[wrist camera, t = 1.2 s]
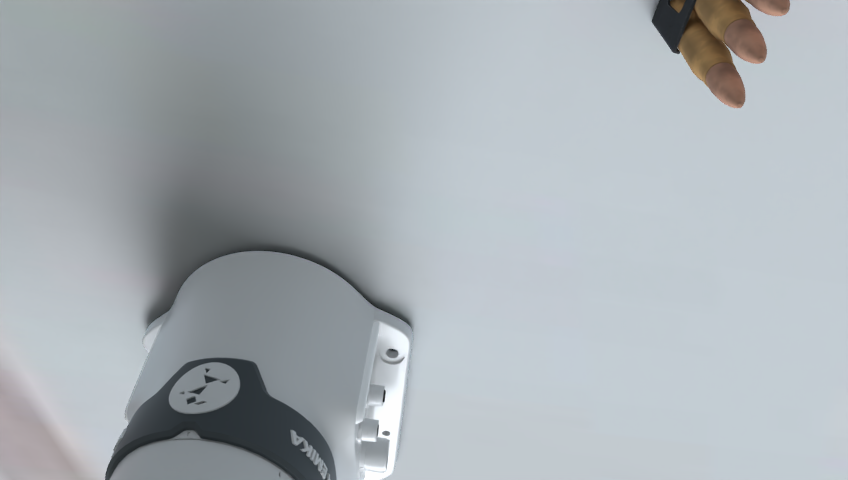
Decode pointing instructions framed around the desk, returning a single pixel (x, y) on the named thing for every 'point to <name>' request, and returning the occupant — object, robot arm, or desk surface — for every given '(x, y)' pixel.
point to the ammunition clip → (716, 39)
